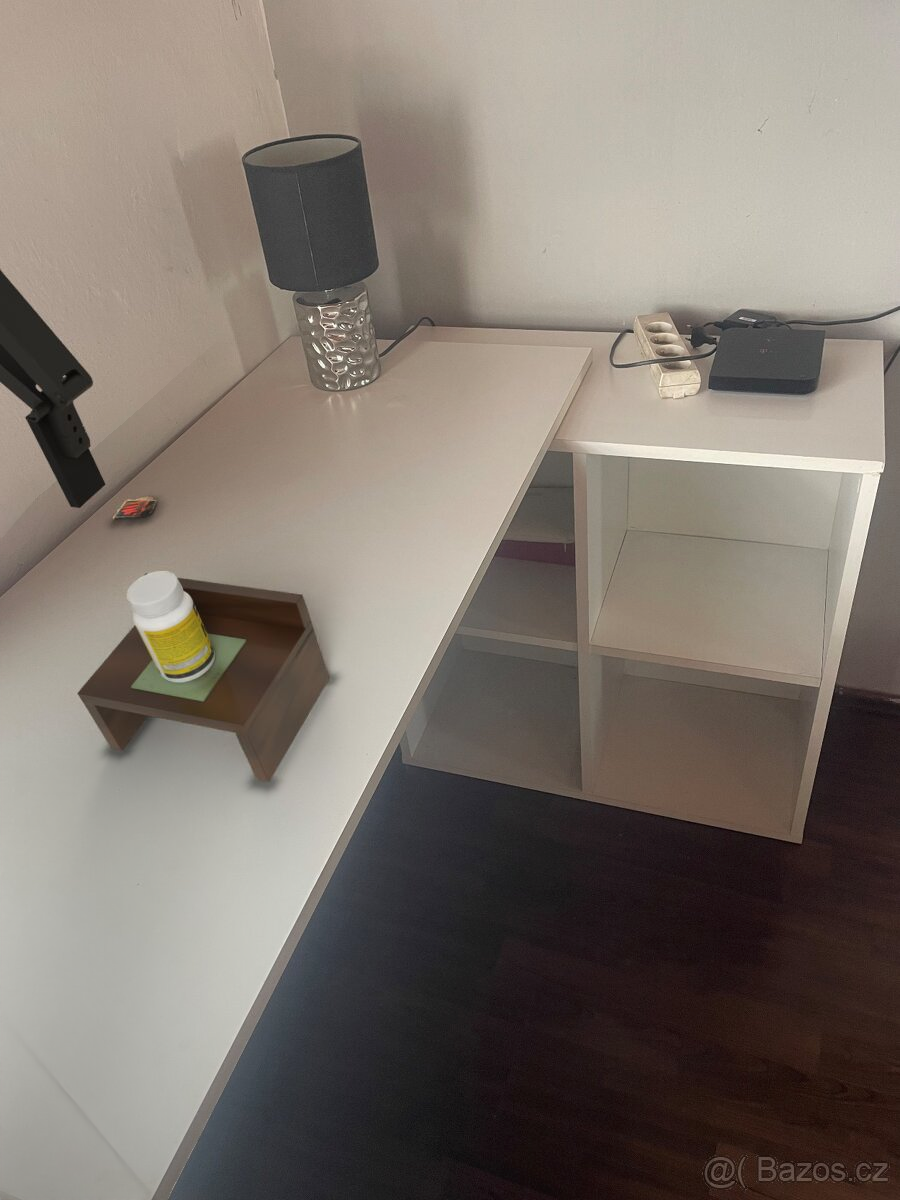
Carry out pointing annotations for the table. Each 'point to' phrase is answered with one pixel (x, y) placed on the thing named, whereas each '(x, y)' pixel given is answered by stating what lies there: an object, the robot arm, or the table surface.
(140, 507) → the matchbox
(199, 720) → the shelf
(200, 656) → the supplement bottle
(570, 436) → the table surface
